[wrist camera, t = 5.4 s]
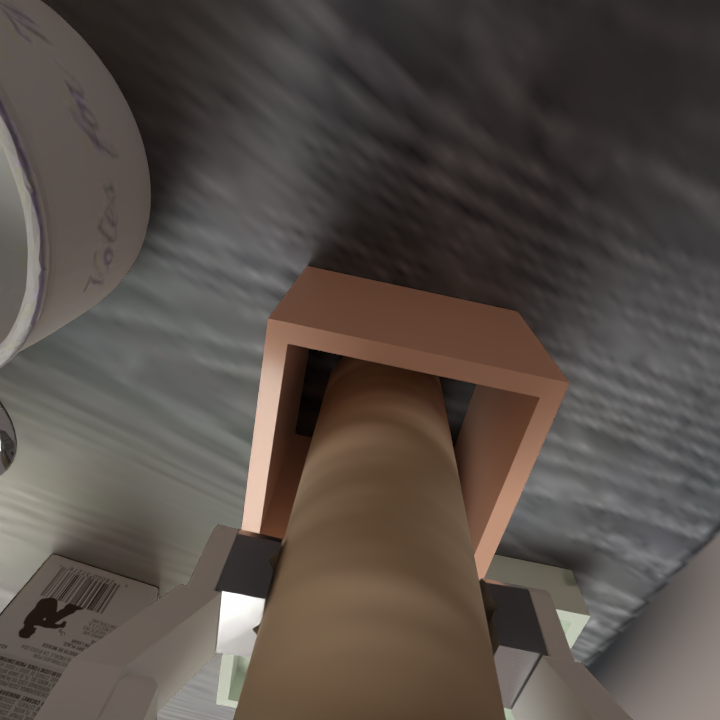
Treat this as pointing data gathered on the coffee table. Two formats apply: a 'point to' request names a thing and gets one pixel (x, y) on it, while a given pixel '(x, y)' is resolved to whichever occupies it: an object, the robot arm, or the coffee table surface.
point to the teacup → (62, 177)
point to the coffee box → (59, 627)
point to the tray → (500, 569)
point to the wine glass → (6, 441)
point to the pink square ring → (414, 352)
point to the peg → (375, 568)
